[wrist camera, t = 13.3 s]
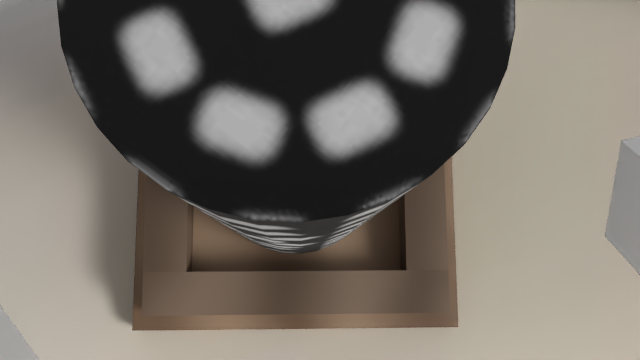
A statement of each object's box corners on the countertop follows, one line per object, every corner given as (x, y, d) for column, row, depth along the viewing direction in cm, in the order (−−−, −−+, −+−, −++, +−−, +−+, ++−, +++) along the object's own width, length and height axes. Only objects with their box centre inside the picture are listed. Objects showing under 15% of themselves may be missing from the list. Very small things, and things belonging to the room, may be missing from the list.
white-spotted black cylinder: (333, 67, 32) (390, -271, 12) (404, 209, 31) (597, 100, 11) (187, 133, 31) (-13, -111, 11) (255, 282, 30) (170, 306, 10)
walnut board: (440, 30, 33) (453, 8, 31) (452, 324, 31) (467, 329, 28) (150, 27, 33) (136, 5, 30) (138, 328, 30) (123, 333, 28)
